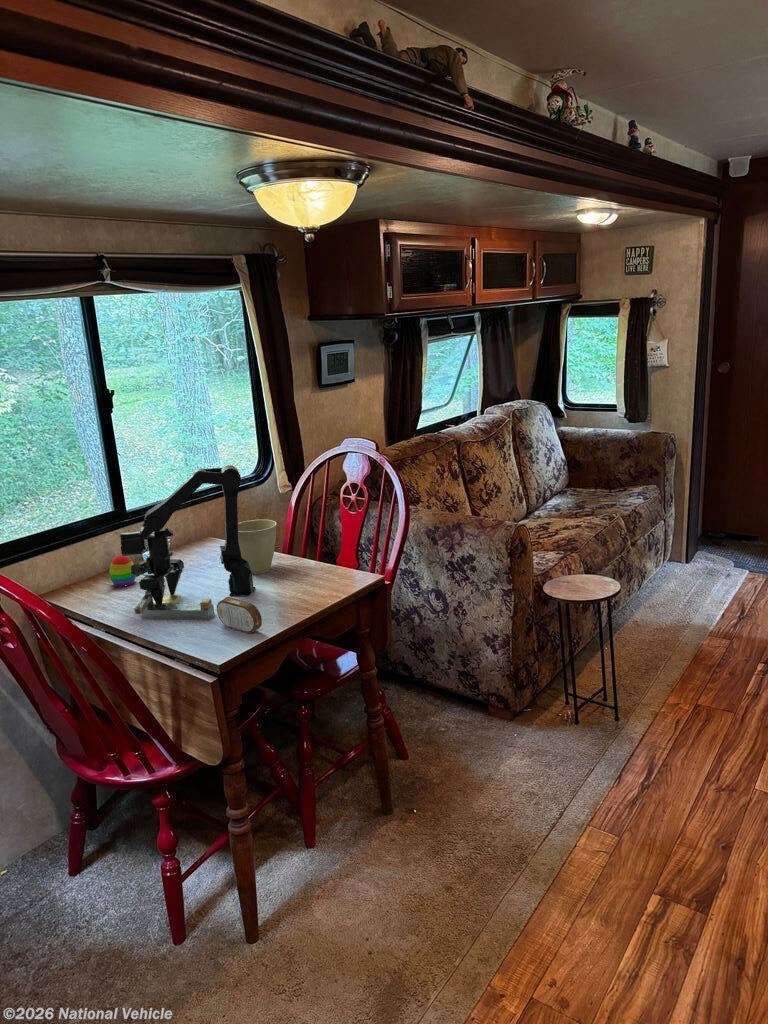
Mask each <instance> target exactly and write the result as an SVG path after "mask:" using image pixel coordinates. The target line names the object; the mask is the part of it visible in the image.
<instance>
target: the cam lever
mask: <svg viewBox="0 0 768 1024" xmlns="http://www.w3.org/2000/svg"><path fill="white" fill-rule="evenodd" d="M153 600H154V599H153V597H152V591H147V590H145V591H144V596H143V597H142V599H141V600H140V601H139V602H138V604H137V605H136V606H135V607H134V615H141V614H142V613H143V611H144V609H145V608H146V606H147V608H152V607H154V605H153Z"/></svg>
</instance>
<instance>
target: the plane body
mask: <svg viewBox="0 0 768 1024" xmlns="http://www.w3.org/2000/svg"><path fill="white" fill-rule="evenodd" d="M153 605H154V607H152V608H147V606H146V608H145V609H144V611H143V613H142V614H140V615H141V621H210V620H211V618H213V616H214V615H215V606H214V604H213V602H212V598H203V599H202V600H201V601H200V602H199V603H188V604H187V603H185V604H183V603H182V604H181V603H178V604H153Z"/></svg>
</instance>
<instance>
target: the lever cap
mask: <svg viewBox="0 0 768 1024" xmlns="http://www.w3.org/2000/svg"><path fill="white" fill-rule="evenodd" d="M182 599H183V598H182V595H181V594H174V595H170V594H164V596H163V602H162V604H180V602H181V601H182ZM153 604H156V602H155V601H154V599H153Z"/></svg>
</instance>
